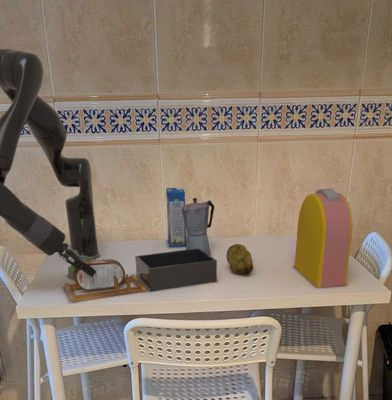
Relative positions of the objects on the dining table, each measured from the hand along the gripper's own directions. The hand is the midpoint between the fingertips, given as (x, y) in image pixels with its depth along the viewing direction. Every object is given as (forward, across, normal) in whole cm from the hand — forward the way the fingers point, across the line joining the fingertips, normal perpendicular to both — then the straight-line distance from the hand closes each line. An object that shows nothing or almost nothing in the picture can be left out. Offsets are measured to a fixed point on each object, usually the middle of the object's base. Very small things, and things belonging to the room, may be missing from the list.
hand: (92, 272), depth 145 cm
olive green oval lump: (+37, -1, -29) cm, 47 cm away
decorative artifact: (+4, +16, +4) cm, 17 cm away
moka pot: (+34, +22, -26) cm, 48 cm away
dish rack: (+6, 0, +2) cm, 7 cm away
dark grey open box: (+22, 0, -14) cm, 26 cm away
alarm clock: (+52, -15, -44) cm, 70 cm away
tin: (+5, 0, +3) cm, 6 cm away
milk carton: (+33, +39, -24) cm, 56 cm away
